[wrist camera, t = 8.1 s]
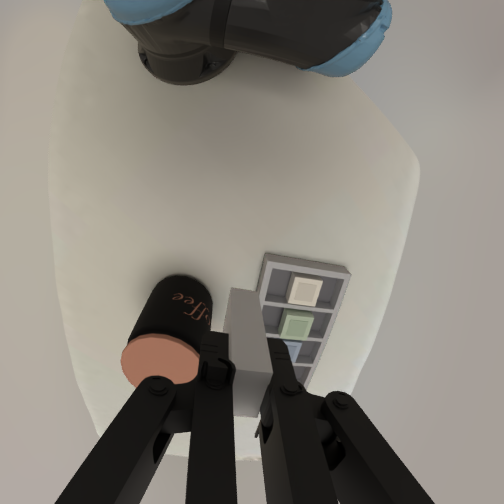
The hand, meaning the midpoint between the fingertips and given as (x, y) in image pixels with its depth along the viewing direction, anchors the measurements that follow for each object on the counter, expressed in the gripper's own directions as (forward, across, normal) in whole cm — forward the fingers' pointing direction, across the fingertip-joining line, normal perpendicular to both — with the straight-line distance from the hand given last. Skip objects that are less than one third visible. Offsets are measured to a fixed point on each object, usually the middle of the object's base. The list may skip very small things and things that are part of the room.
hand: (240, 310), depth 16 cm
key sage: (+27, +13, -16) cm, 34 cm away
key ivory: (+28, +13, -10) cm, 32 cm away
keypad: (+29, +13, -19) cm, 37 cm away
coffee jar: (+30, -6, -17) cm, 35 cm away
